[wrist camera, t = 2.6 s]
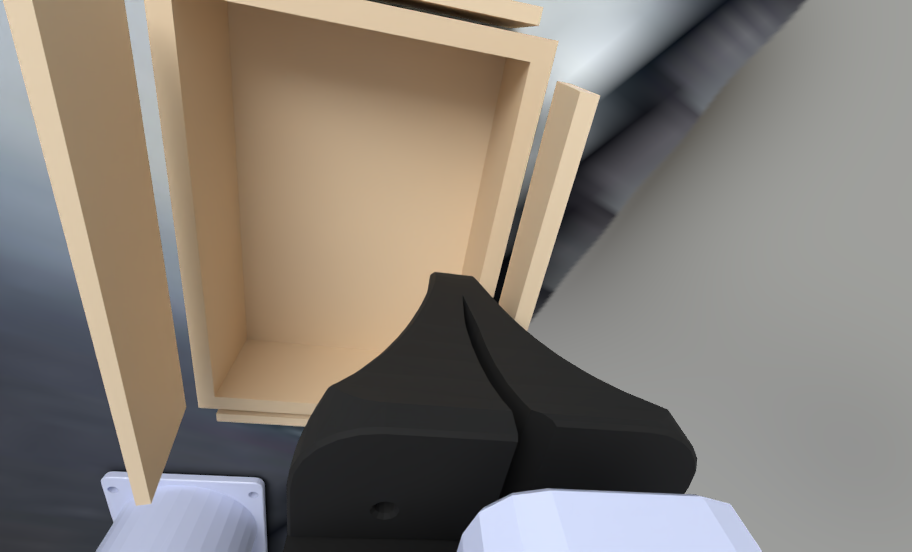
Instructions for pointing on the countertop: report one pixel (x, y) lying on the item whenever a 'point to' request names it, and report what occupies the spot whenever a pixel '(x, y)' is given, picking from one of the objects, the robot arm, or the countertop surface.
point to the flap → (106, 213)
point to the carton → (334, 176)
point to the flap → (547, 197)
